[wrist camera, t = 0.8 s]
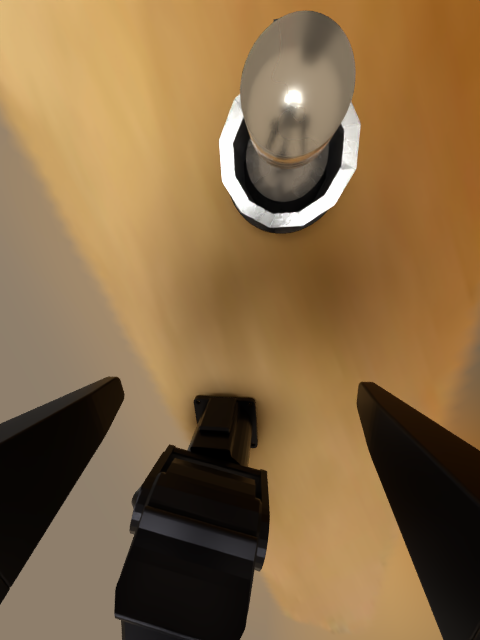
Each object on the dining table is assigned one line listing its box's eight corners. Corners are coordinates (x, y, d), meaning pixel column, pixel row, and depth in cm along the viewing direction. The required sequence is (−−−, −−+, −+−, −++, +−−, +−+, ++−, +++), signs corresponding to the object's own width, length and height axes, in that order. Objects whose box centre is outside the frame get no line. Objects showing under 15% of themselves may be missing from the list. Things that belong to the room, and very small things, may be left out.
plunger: (323, 199, 14) (373, 178, 7) (249, 204, 14) (221, 191, 7) (329, 104, 12) (403, -57, 5) (245, 116, 13) (204, -13, 6)
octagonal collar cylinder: (338, 229, 18) (361, 233, 13) (232, 235, 19) (216, 241, 14) (352, 66, 15) (389, -10, 10) (222, 86, 16) (196, 27, 11)
